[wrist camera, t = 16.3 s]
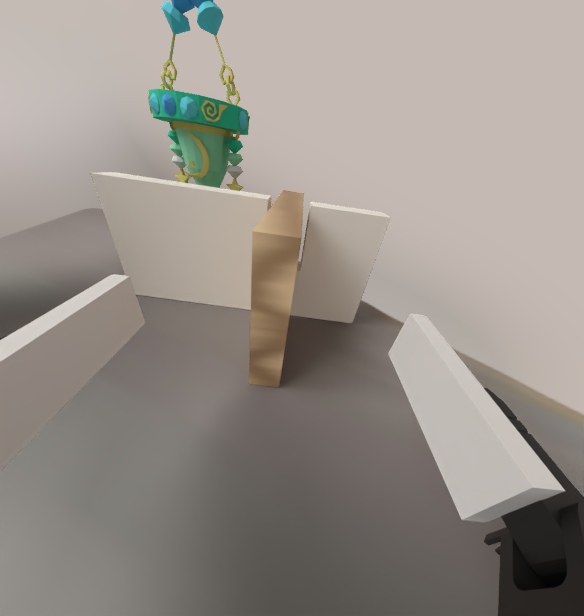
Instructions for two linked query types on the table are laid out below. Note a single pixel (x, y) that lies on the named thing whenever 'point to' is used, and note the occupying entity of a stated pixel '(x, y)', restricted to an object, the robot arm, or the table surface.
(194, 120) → the hanging basket ornament
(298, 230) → the tan faceted tapered block
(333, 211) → the cream slotted board
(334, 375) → the table surface
